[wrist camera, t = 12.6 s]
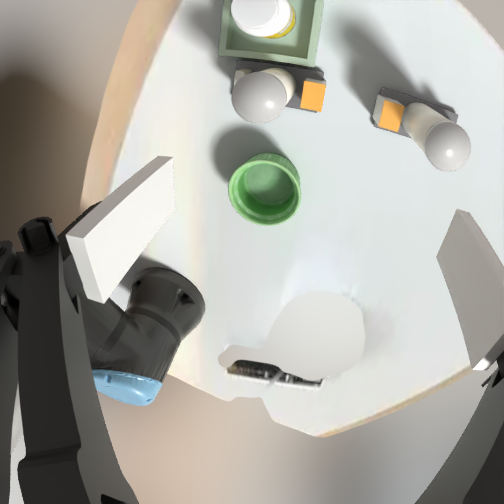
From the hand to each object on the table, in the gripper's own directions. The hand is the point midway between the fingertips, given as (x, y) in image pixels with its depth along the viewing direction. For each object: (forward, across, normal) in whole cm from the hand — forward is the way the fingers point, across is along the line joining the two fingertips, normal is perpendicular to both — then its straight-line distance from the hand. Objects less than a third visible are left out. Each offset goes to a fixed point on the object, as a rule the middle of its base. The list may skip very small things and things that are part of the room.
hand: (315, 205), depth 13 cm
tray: (+26, -6, +10) cm, 28 cm away
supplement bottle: (+25, -6, +10) cm, 28 cm away
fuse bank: (+26, +3, +2) cm, 26 cm away
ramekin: (+26, -5, -11) cm, 29 cm away
